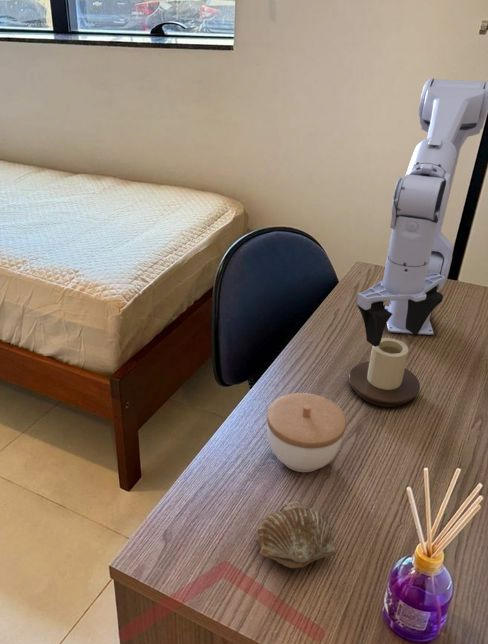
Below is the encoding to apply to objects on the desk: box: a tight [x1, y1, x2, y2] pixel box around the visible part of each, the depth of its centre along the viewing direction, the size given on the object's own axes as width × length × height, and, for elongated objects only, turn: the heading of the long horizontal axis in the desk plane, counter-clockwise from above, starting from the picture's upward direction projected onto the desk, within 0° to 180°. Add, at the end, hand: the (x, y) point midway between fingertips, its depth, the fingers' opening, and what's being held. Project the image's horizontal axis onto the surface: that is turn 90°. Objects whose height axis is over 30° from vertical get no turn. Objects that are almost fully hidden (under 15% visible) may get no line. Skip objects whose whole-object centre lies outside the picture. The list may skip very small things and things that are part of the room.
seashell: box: [253, 501, 338, 569], centre depth 71 cm, size 9×7×8 cm
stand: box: [348, 360, 421, 408], centre depth 99 cm, size 11×11×2 cm
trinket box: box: [266, 392, 347, 473], centre depth 84 cm, size 11×11×9 cm
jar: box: [367, 337, 410, 390], centre depth 96 cm, size 5×5×6 cm
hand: (392, 337), depth 94 cm, fingers open, 7 cm apart
